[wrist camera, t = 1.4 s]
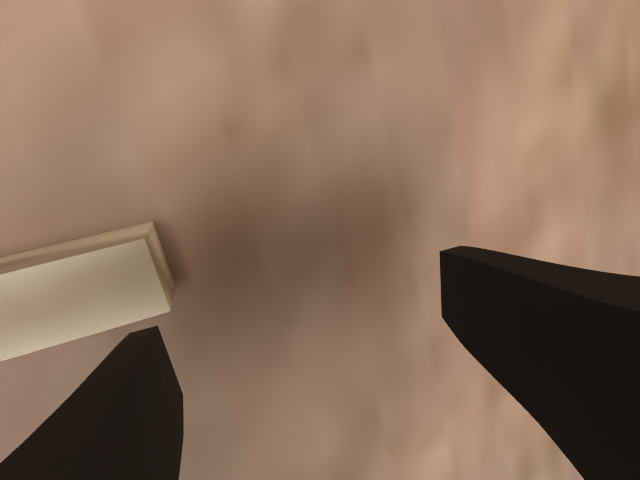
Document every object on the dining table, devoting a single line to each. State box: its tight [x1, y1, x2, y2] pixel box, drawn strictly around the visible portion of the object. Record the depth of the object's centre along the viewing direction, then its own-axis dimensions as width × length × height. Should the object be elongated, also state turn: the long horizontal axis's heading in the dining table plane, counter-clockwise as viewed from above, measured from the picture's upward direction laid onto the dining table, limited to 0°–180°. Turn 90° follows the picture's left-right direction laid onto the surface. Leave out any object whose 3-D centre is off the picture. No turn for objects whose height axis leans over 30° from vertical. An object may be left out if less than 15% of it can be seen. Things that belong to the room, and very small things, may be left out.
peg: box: [0, 221, 175, 361], centre depth 16 cm, size 3×9×3 cm, turn 100°
